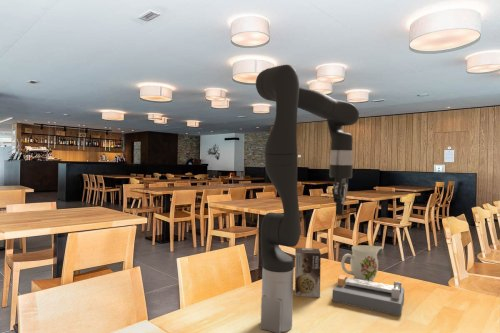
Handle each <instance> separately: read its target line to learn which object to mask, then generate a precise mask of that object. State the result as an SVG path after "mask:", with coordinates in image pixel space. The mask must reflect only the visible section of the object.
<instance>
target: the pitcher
mask: <svg viewBox="0 0 500 333" xmlns="http://www.w3.org/2000/svg"><path fill="white" fill-rule="evenodd" d="M383 248H384V247H383V246H380V245H368V244H367V245H365V244H363V245H362V244H359V245H353V246H351V252H352V254H350V253H345V254H344V255H343V256H342V258H341V261H340V262H341V263H340V265H341V268H342V270H343V271H344V273H346V274H347V275H351V276H353V277H354V279H360V280H366V281H371V282H373V280H375V278H376V276H377V274H378V270H379V259H378V253H379V252H380V251H381V250H382V249H383ZM347 258H350V260H349V261H350V264H349V265H350V270H351V271H350V270H348V269H347V268H346V266H345V261H346V259H347Z"/></svg>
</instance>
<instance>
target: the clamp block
mask: <svg viewBox="0 0 500 333" xmlns="http://www.w3.org/2000/svg"><path fill="white" fill-rule="evenodd" d="M348 277H349V276H347V278H348ZM402 283H403V282H402V281H393V285H394V287H395V285H399V286H400V289H394V288H392V293H390V292H384V291H379V290H373V289H368V288H363V287H357V286H352V285H346V284H345V285H344V286H339V285H338V283H336V285H335V286H334V287H333V289H332V300H331V301H332V302H334V303H338V304H343V305H347V306H348V305H349V306H353V307H357V308H361V309H366V310H370V311H375V312H380V313H383V314H384V313H385V314H388V315H394V316H399V317H401V315H402V311H403V306H404V301H405V287H403V286H402V285H403V284H402Z"/></svg>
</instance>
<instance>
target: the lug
mask: <svg viewBox="0 0 500 333" xmlns="http://www.w3.org/2000/svg"><path fill="white" fill-rule="evenodd" d="M347 275H348V274H347ZM347 275H346V274H340V275H339V277H338V278H337V284H338V285H339V286H344V285H345V281H346V279H347V277H348V276H347Z"/></svg>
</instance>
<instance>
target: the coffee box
mask: <svg viewBox="0 0 500 333" xmlns="http://www.w3.org/2000/svg"><path fill="white" fill-rule="evenodd" d="M294 252H295V254H294V255H295V256H294V258H295V260H294V296H295V297H308V298H309V297H310V298H311V297H312V298H313V297H314V298H321V269H322V268H321V267H322V266H321V264H322V263H321V261H322V260H321V258H322V256H321V255H322V253H321V251H320V249H319V248H311V247H310V248H309V247H307V248H306V247H296V248H295V251H294Z"/></svg>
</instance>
